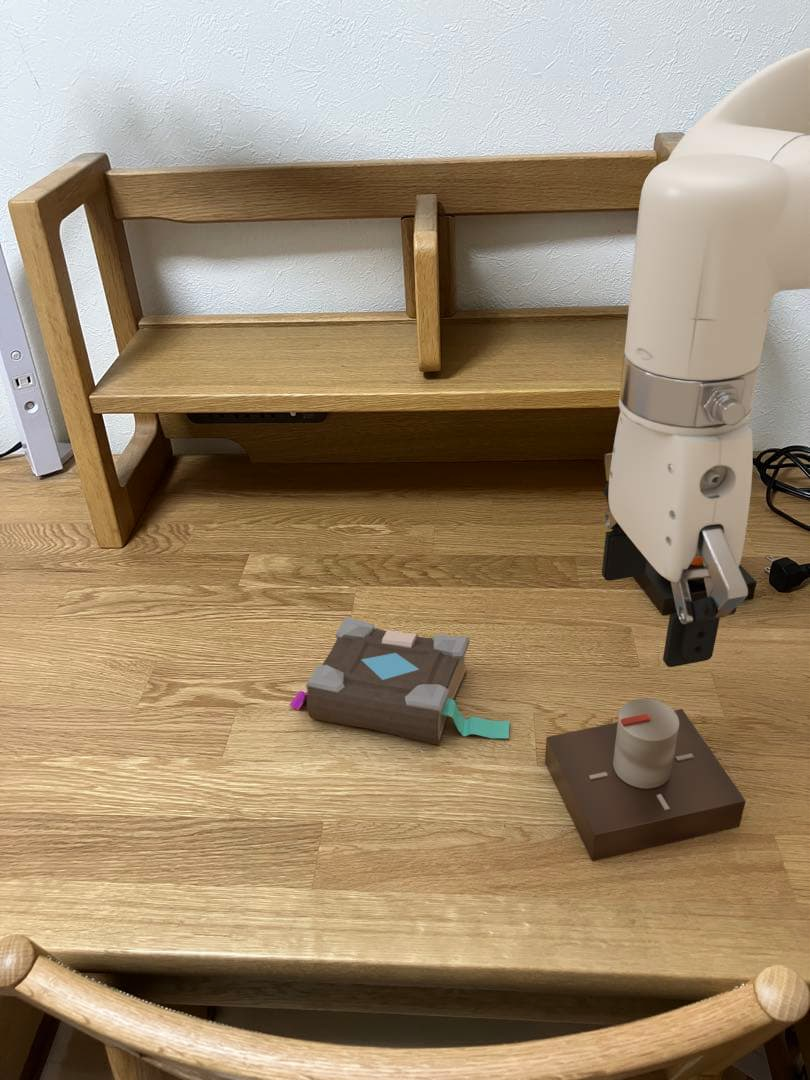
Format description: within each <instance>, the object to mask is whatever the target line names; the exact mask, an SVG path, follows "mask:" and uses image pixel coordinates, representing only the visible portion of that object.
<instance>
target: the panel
mask: <svg viewBox="0 0 810 1080" xmlns="http://www.w3.org/2000/svg"><path fill="white" fill-rule="evenodd" d="M673 711H674V712H675V713H676V715H677V716H678V719H679V730H678V735H677V741H676V747H675V752H674V758H673V764H672V770H671V775H670V777H669V779H668V780H667V781H666V782H665V783H664V784H663V785H661V786H659V787H656V788H650V789H644V788H638V787H634V786H632V785H629V784H627V783H626V782H624V781H623V780H622V779H621V778H620V777H619V776H618V775H617V774H616V772H615V770H614V767H613V758H614V750H615V741H616V733H617V725H618V721H617V722H612V723H608V724H603V725H598V726H593V727H588V728H583V729H578V730H573V731H570V732H569V731H568V732H564V733H559V734H554V735H549V736H546V737H545V755H544V764H545V766H546V768H547V770H548V772H549V774H550V777H551V778H552V781H553V782H554V784H555V786H556V787H555V788H556V789H557V791H558V793H559V795H560V797H561V799H562V801H563V803H564V805H565V808H566V810H567V812H568V814H569V816H570V819H571V820H572V822H573V824H574V827H575V828H576V830H577V833H578V835H579V837H580V840H581V841H582V843H583V845H584V847H585V850H586V852H587V854H588V856H589V858H590V860H591V861H592V862H593V861H594V862H595V861H598V860H602V859H603V860H604V859H607V858H611V857H615V856H619V855H624V854H628V853H633V852H637V851H641V850H645V849H650V848H654V847H658V846H663V845H668V844H671V843H675V842H680V841H684V840H689V839H693V838H697V837H702V836H705V835H710V834H714V833H718V832H723V831H727V830H731V829H736V828H740V826H741V823H742V818H743V813H744V810H745V806H746V802H747V800H746V798H745V797H744V796H743V794H742V793H741V791H740V790H739V789H738V787H737V786H736V785H735V783H734V781H733V780H732V778H731V777H730V775H729V774H728V773H727V772H726V770H725V768H724V767H723V766H722V764H721V763H720V761H719V760H718V759H717V757H716V756H715V754H714V752H713V751H712V750H711V748H710V747H709V746H708V744H707V743H706V741H705V739H704V738H703V737H702V735H701V734H700V732H699V731H698V730H697V728H696V726H695V725H694V723H693V722H692V721H691V720H690V718H689V717H688V715H687V714H686V712H685V711H684V709H683V708H680V709H675V710H673Z"/></svg>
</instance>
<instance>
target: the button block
mask: <svg viewBox="0 0 810 1080" xmlns="http://www.w3.org/2000/svg"><path fill="white" fill-rule="evenodd" d="M703 567H704V566H703V565H701V566H697V565H689V567H688V569H683V571H685V570H691V569H697V568H703ZM739 569H740V571H741V574H742V576H743V578H744V580H745V583H746V585H747V588H748V595H747V597H746V598H745V599H744V600H743V601H742V602H745V601H748V600H753V599H754V597H755V591H756V587H757V580H755V579H754V578H753V576H751V574H750V573H749V572H748V571H747V570H746V569H745V568H744V567H743V566H742V565H741V564H740V565H739ZM632 578H633V579H634V580H635V582H636V583H637V585H638V586H639V587H640V588H641V590H642V591H643V592H644V593H645V595H646V596H647V597H648V599H649V600H650V602H651V603H652V604H653V605H654V607H655V608H656V609H657V611H658V612H659V613H660V614H661V615H662V616H663V617H664V616H670V614H673V613H677V610H676V605H675V601H674V596H673V591H672V586H671V581H669V580H667V579H666V578H664V577H663V576H662V575H660V574H659V573H658V572H657V571H656V570H655V569H654V567H653V566H652V565H651V564H650V563H649V561H648V560H647V562H646V569H645V573H644V574H643V575H641V576H635V577H632ZM687 582H688V587H689V591H690V596H691V601H692V602H694V601H697V600H700V599H703V598H708V596H707V591H706V587H705V582H704V578H698V579H692V580H687Z"/></svg>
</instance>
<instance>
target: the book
mask: <svg viewBox="0 0 810 1080" xmlns="http://www.w3.org/2000/svg"><path fill="white" fill-rule="evenodd" d="M469 646H470V638H469V637H467V636H460V635H450V634H441V633H440V634H436V635H434V636H432V637H424V636H419V634H418V633H415V632H414V633H412V632H400V631H396V630H389V629H387V630H384V629H380V628H377V627H376V626H375V624H374V623H370V622H367V621H364V620H359V619H356V618H352V617H348V616H345V617H344V619H343V620H342V622H341V624H340V625H339V627H338V629H337V630H336V632H335V643H334V644H333V646H332V648H331V650H330V651H329V654H328V655H327V657H326V658H325V660H324V661H323V663H322V664H319V665H316V666H315V668H314V670H313V672H312V674H311V675H310V677H309V679H308V680H307V682H306V684H305V688H306V690H307V691H306V692H305V691H304V690H299V691H298V692H297V694H296V695H295V696H294V698H293V699H292V700H291V702H290V703H289V706H290V707H293V708H294V709H295V710H300V709H301V708H302V706H303V704H304V703H305V701H306V709H307V714H308V716H309V717H310V719H312V720H318V721H323V722H328V723H334V724H339V725H344V726H345V725H346V726H351V727H356V728H363V729H366V730H367V729H368V730H374V731H378V732H382V733H386V734H390V735H394V736H397V737H403V738H407V739H411V740H415V741H420V742H423V743H428V744H432V745H435V746H440V745H441V742H442V738H443V735H444V732H445V729H446V726H447V723H448V721H449V717H450V718H452V720H453V722H454V725H455V726H456V729H457V731H458V732H459V733H460V734H461V736H462V737H467V736H469V735H477V736H481V737H485V738H489V739H509V738H510V737H509V736H510V720H491V719H486V718H482V717H477V716H471V717H469V718H465V717H464V716H463V714H462V713H461V711H460V709H459V707H458V706H457V702H456V698H457V696H458V694H459V691H460V689H461V686H463V685H462V684H463V682H464V680H465V677H466V675H467V669H466V668H465V656H466V654H467V651H468V649H469Z"/></svg>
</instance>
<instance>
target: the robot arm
mask: <svg viewBox="0 0 810 1080" xmlns="http://www.w3.org/2000/svg"><path fill="white" fill-rule="evenodd" d="M634 242H635V244H634V253H633V254H634V255H633V261H632V262H633V263H632V273H631V282H630V291H629V303H628V313H627V323H626V332H625V333H626V334H625V341H624V350H623V351H624V352H623V360H622V369H621V378H620V379H621V380H620V388H619V399H618V408H619V415H618V420H617V425H616V430H615V435H614V441H613V448H612V452H609V453H605V454H604V457H603V462H604V470H605V481H606V483H605V485H604V489H603V495H604V497H605V499H606V502H607V503H606V504H607V507H608V510H607V512H605V513H604V517H603V520H604V522H603V523H604V525H605V527H606V529H607V530H609V531H606V532H605V536H604V537H605V538H604V548H603V556H602V557H603V558H602V567H601V575H602V577H603V579H604V580H605V581H607V582H608V581H609V582H610V581H616V580H617V581H618V580H624V579H629V578H633V577H635V576H641V575H643V574H644V573H645V569H646V562H647V560H648V561H649V563H650V564H651V565H652V566H653V567H654V569H655V570H656V571H657V572H658V573H659V574H660V575H662V576H663V577H664V578H666V579H667V580H669V581H671V586H672V591H673V596H674V601H675V605H676V610H677V613H673V614H669V618H668V623H667V629H666V637H665V642H664V643H665V644H664V648H663V649H664V650H663V657H662V661H663V662H664V665H666V667H668V668H674V667H680V666H685V665H690V664H696V663H700V662H701V663H702V662H706V661H709V660H710V659H711V658H713V655H714V649H715V645H716V639H717V634H718V629H719V624H720V619H721V618H726V617H727V616H730V615H731V616H732V615H734V614H735V613H736V612H737V609H738V607H739V606H740V605H741V604H742V603H743V602H744V601H745V600H744V599H745V598H746V597H747V595H748V588H747V585H746V583H745V580H744V578H743V576H742V574H741V571H740V569H739V565H741V562H742V556H743V552H744V547H745V539H746V534H747V528H748V527H747V526H748V519H749V511H750V503H751V494H752V482H753V469H754V467H753V465H754V463H753V459H754V457H753V456H754V454H753V453H754V447H753V446H754V445H753V429H752V427H751V426H750V425H749V424H748V423H747V422H748V421H749V420H750V417H751V413H752V406H753V401H754V398H755V397H754V396H755V392H756V386H757V381H758V376H759V371H760V365H761V358H762V354H763V348H764V342H765V337H766V333H767V327H768V322H769V316H770V312H771V306H772V302H773V300H774V297H775V295H776V294H778V293H780V292H785V291H794V290H795V291H797V290H810V46H809V47H806V48H805V49H801V50H799V51H796V52H794V53H792V54H790V55H788V56H785V57H783V58H781V59H779V60H777V61H775V62H773V63H771V64H769V65H767V66H765V67H763V68H762V69H760V70H759V71H757V72H755V73H754V74H752V75H751V76H750V77H747V79H745V80H743V82H741V83H740V84H739V85H737V86H736V87H734V89H733V90H731V91H730V92H729V93H728V94H727V95H726V96H724V97H723V98H722V99H721V100H720V101H719V102H717V103H716V104H715V105H714V106H713V107H711V108H710V109H709V110H708V111H707V112H705V114H704V115H702V117H701V118H699V119H698V120H697V121H696V122H694V124H693V125H692V126H691V128H689V130H688V131H687V132H686V133H685V134H684V135H683V136H682V137H681V139H680V140H679V142H678V143H677V144H676V146H675V147H674V149H673V150H672V152H671V153H670V155H669V157H668V158H667V160H665V161H662V162H660V163H659V164H657V165H656V166H655V167H653V169H652V170H651V171H650V172H649V173H648V175H647V177H646V178H645V180H644V182H643V185H642V187H641V192H640V198H639V205H638V214H637V224H636V234H635V241H634ZM607 482H608V483H607ZM700 556H701V557H702V561H703V566H704V567H703V568H697V569H691V570H685V571H683V569H688V567H689V565H690V564H691V562H692V561H693V559H694V558H696V557H700ZM698 578H704V582H705V587H706V591H707V596H708V598H703V599H700V600H697V601H694V602H692V601H691V596H690V591H689V587H688V582H687V580H692V579H698ZM743 600H744V601H743Z"/></svg>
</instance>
